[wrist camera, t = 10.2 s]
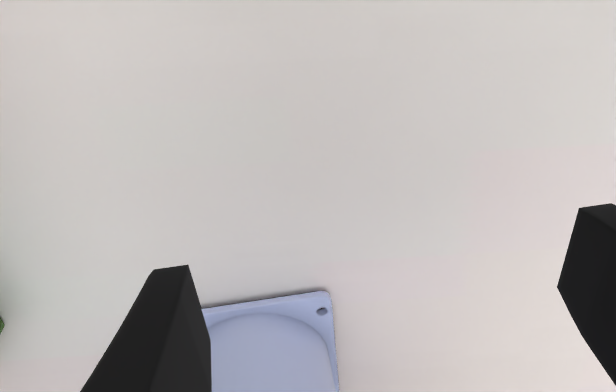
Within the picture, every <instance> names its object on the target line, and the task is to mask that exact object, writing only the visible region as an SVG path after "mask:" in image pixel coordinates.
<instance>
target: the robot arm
mask: <svg viewBox="0 0 616 392" xmlns="http://www.w3.org/2000/svg"><path fill="white" fill-rule="evenodd" d="M557 288H558V290H559V292H560V294H561V296H562V298H563V300H564V302H565V304H566V306H567V308H568V310H569V312H570V314H571V316H572V318H573V320H574V322H575V324H576V326H577V327H578V329H579V331H580V333H581V335H582V336H583V338H584V340H585V341H586V343H587V344H588V346H589V347H590V349H591V350H592V352H593V353H594V354H595V356H596V357H597V359H598V360H599V362H600V363H601V365H602V366H603V368H604V369H605V371H606V372H607V374H608V375H609V376H610V378H611V379H612V381H613V382H614V384H615V385H616V205H613V204H604V205H597V206H590V207H583V208H579V210H578V214H577V217H576V221H575V225H574V228H573V232H572V235H571V239H570V243H569V246H568V250H567V253H566V257H565V261H564V264H563V268H562V271H561V275H560V279H559V282H558V286H557ZM319 308H324V309H319ZM80 392H339V382H338V370H337V359H336V347H335V335H334V324H333V312H332V301H331V297H330V294H329V293H327V292H325V291H317V292H310V293H304V294H297V295H291V296H284V297H277V298H271V299H264V300H258V301H251V302H245V303H238V304H232V305H225V306H218V307H212V308H205V309H201V306H200V303H199V299H198V296H197V293H196V289H195V286H194V283H193V279H192V276H191V273H190V269H189V266H188V265H183V266H176V267H169V268H162V269H155V270H153V271H152V272H151V274H150V275H149V276H148V278H147V280H146V282H145V284H144V286H143V288H142V289H141V291H140V293H139V295H138V297H137V298H136V300H135V302H134V304H133V306H132V307H131V309H130V311H129V313H128V315H127V316H126V318H125V320H124V321H123V323H122V325H121V327H120V328H119V330H118V332H117V334H116V335H115V337H114V339H113V340H112V342H111V343H110V345H109V347H108V348H107V350H106V352H105V353H104V355H103V356H102V358H101V360H100V361H99V363H98V365H97V366H96V368H95V369H94V371H93V373H92V374H91V376H90V377H89V379H88V380H87V382H86V384H85V385H84V387H83V388H82V390H81V391H80Z"/></svg>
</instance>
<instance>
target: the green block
mask: <svg viewBox="0 0 616 392" xmlns="http://www.w3.org/2000/svg"><path fill="white" fill-rule="evenodd" d="M3 328H4V323H3V321H2V320H1V318H0V334H1V332H2V330H3Z"/></svg>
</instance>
